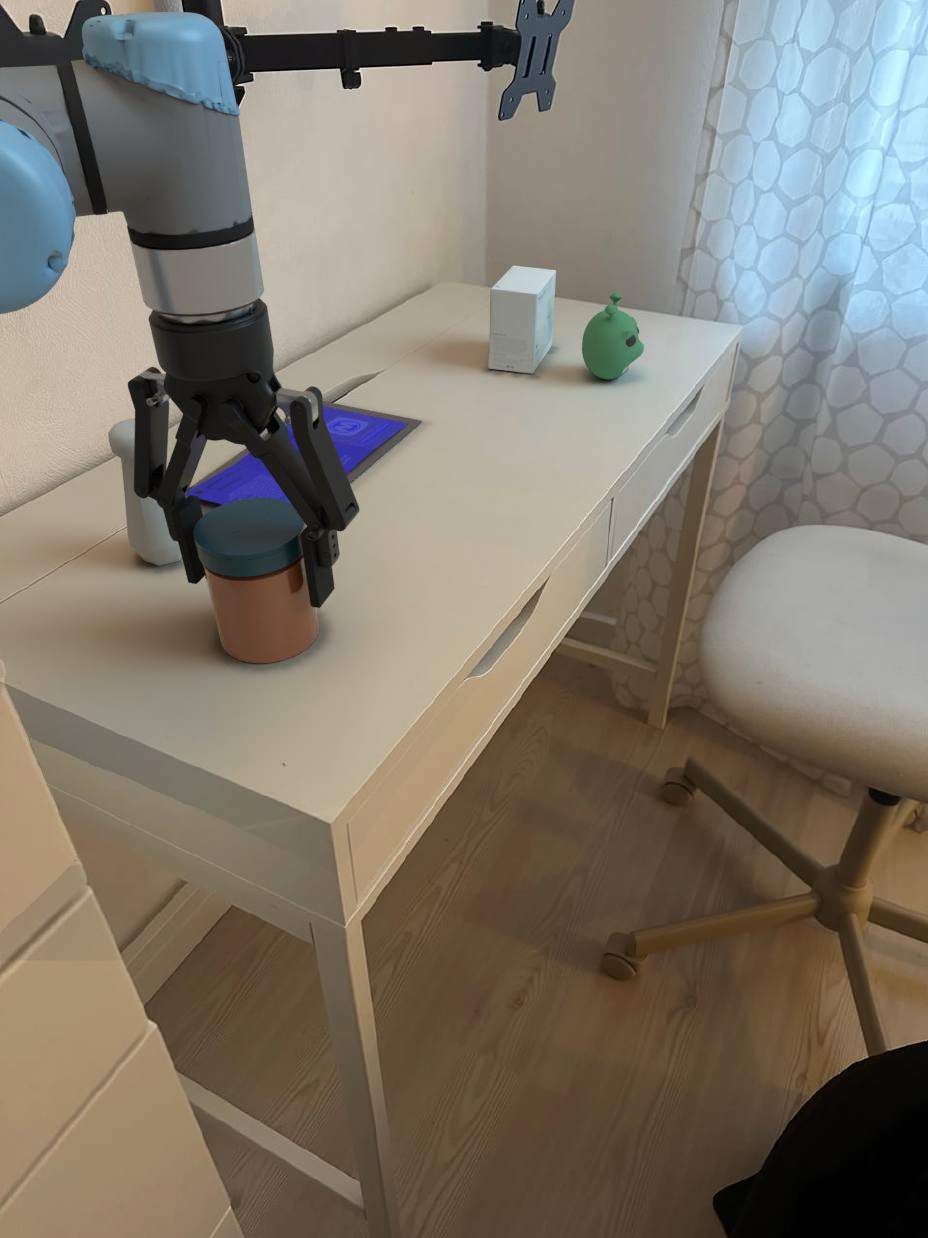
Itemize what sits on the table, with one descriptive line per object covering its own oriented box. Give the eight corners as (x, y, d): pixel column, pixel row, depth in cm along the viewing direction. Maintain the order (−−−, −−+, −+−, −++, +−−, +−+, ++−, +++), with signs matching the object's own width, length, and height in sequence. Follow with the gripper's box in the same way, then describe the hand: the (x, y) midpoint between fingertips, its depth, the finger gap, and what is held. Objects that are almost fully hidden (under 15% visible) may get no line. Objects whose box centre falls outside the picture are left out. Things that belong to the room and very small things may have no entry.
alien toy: (637, 391, 111) (645, 310, 105) (575, 385, 112) (580, 305, 106) (643, 369, 116) (651, 291, 110) (584, 364, 118) (589, 287, 112)
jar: (222, 671, 70) (198, 570, 64) (219, 612, 76) (196, 514, 70) (324, 654, 71) (309, 553, 66) (313, 597, 78) (298, 500, 72)
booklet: (408, 423, 104) (408, 417, 104) (285, 526, 86) (284, 520, 86) (319, 405, 108) (318, 400, 108) (184, 500, 91) (183, 494, 90)
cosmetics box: (535, 375, 115) (538, 292, 109) (487, 369, 117) (487, 288, 110) (554, 346, 123) (557, 267, 117) (509, 341, 125) (510, 263, 118)
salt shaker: (209, 541, 85) (180, 413, 77) (178, 574, 81) (144, 443, 73) (154, 533, 86) (120, 407, 78) (121, 565, 82) (81, 435, 74)
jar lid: (287, 508, 73) (284, 487, 72) (324, 556, 67) (321, 535, 66) (186, 535, 70) (181, 514, 69) (215, 589, 64) (210, 567, 63)
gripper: (393, 300, 57) (411, 583, 71) (94, 272, 63) (164, 538, 77) (344, 341, 51) (374, 640, 65) (21, 306, 57) (111, 587, 71)
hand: (261, 585), depth 71 cm, fingers open, 10 cm apart
